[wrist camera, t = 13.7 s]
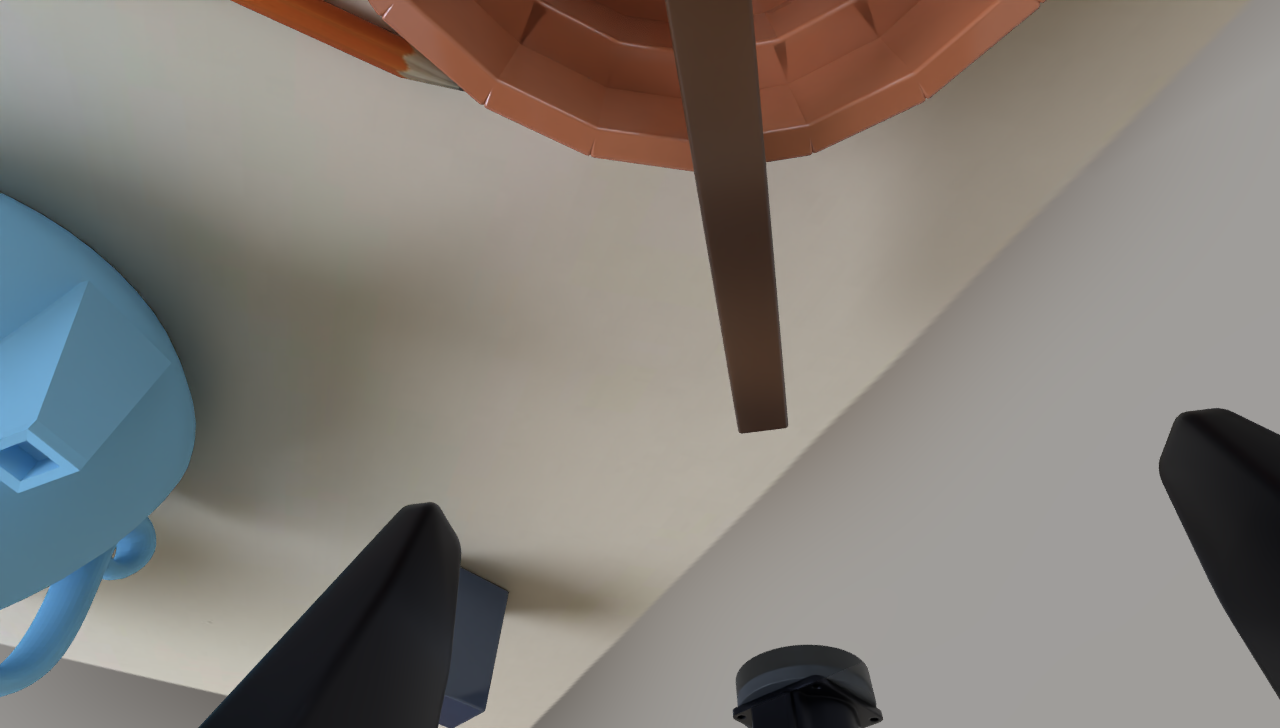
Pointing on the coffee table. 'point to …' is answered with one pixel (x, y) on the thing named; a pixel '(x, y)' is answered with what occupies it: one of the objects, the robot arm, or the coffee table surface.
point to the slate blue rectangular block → (473, 648)
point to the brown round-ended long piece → (733, 196)
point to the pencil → (353, 37)
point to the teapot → (77, 431)
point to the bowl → (647, 76)
